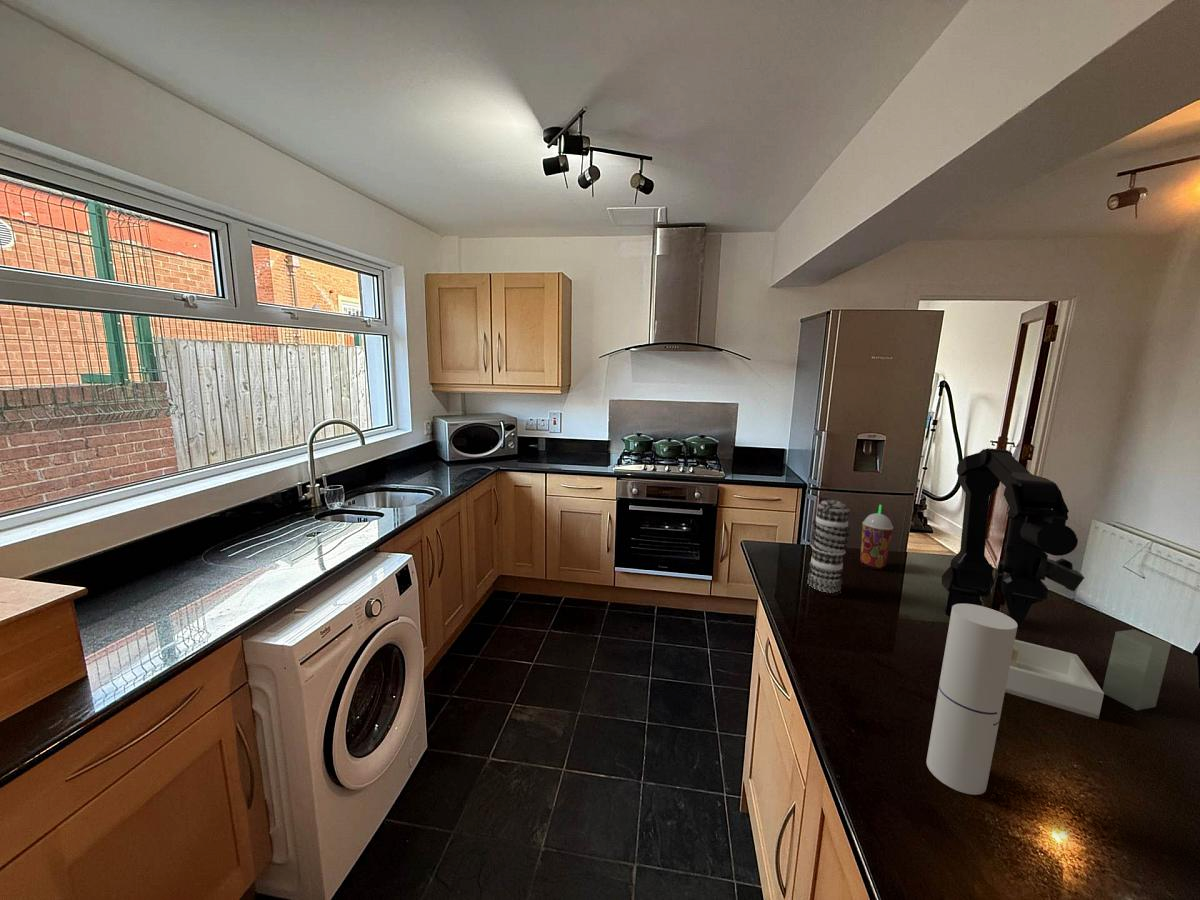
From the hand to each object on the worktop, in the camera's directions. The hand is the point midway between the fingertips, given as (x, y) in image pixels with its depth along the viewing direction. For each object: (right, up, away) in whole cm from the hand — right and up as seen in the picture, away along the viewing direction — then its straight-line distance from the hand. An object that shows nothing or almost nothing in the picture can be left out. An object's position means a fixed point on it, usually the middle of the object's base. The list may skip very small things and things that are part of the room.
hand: (1015, 619), depth 95 cm
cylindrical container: (-31, -14, -25) cm, 42 cm away
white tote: (0, -11, -2) cm, 11 cm away
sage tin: (+16, -13, -6) cm, 21 cm away
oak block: (-2, -10, +2) cm, 10 cm away
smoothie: (+2, -3, +54) cm, 54 cm away
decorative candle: (-22, -5, +36) cm, 42 cm away
